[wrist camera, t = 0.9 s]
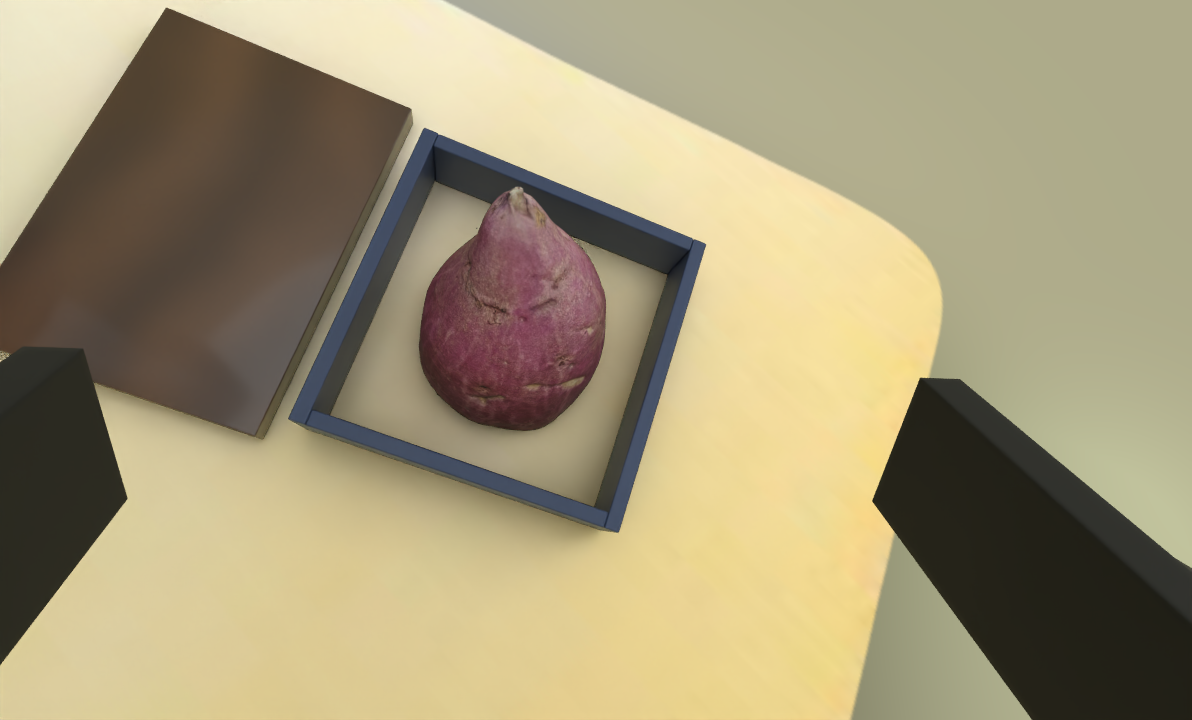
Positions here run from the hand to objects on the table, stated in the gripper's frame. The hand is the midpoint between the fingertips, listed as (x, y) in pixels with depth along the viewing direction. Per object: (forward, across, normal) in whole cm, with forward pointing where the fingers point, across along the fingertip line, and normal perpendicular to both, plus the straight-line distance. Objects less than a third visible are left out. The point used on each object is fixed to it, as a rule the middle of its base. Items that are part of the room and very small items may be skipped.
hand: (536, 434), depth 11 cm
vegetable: (+25, 0, -11) cm, 27 cm away
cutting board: (+28, -16, -6) cm, 32 cm away
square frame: (+25, 0, -11) cm, 27 cm away
